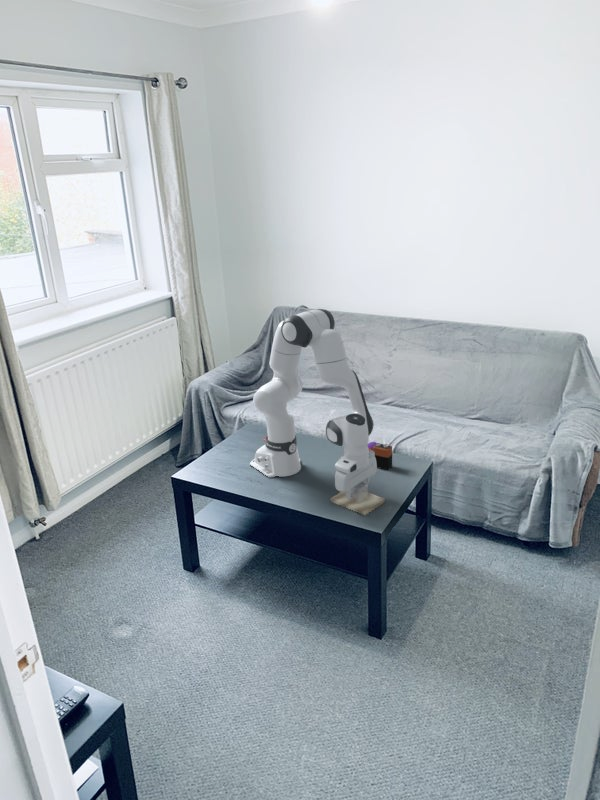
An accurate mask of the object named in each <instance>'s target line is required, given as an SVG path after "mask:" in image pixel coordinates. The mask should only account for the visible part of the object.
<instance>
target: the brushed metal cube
mask: <svg viewBox="0 0 600 800" xmlns="http://www.w3.org/2000/svg"><path fill="white" fill-rule="evenodd" d="M368 488H369V487H367V483H364V482H363V481H362V482H360V483H359V484H357V485H356V486H354V487H352V488H351V489H350V491H349V492H350V493H352V498H350V499H348V500H350V501H353V502H355V503H358V504H360V503H361V502H363V501H364V500H366V499H367V498H368V493H369V491H368Z"/></svg>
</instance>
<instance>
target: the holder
mask: <svg viewBox="0 0 600 800" xmlns="http://www.w3.org/2000/svg"><path fill="white" fill-rule="evenodd" d="M329 502H331V503H334V504H336V505H338V506H340V505H341V507H343V508H345V507H346V508H345V509H348V510H350V509H351V511H352V510H353V512H355V511H356V512H355V513H357V512H358V513H357V514H360V513H361V515H362V514H363V515H362V516H364V515H365V516H367V515H368V514H370V513H372V512H373V511H374V510H376V509H377V508H378V507H380V506H381V505H383V504H384V503H386V499H385V498H384V497H381V496H378V495H376V494H373V493H371V492H368V498H367V499H366V500H364V501H363V502H361V503H360V504H358V503H355V502H353V501H350V500H348V498H346V493H345V492H344V493H343V492H340V491H339V492H338V493H337V494H336V495H334V496H332V497H331V498H330V501H329ZM375 508H376V509H375ZM372 510H373V511H372ZM369 512H370V513H369ZM366 514H367V515H366Z"/></svg>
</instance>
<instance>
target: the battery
mask: <svg viewBox="0 0 600 800" xmlns="http://www.w3.org/2000/svg"><path fill="white" fill-rule="evenodd" d="M376 443H377V444H376V445H375V446H374V447H373V451H374V453H375V458H376V463H377V469H381V468H382V469H383V470H386V471H388V470H390V469H391V468H392V466H393V446H392V445H389V443H384V444H383V443H381V442H376Z"/></svg>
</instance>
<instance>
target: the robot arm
mask: <svg viewBox="0 0 600 800" xmlns="http://www.w3.org/2000/svg"><path fill="white" fill-rule="evenodd" d="M335 323H336V322H335V318H334V316H333V314H332V313H331V312H330V311H329V310H327V309H323V308H316V309H312V310H311V309H310V310H305V311H303V312H299V313H296V314H292V315H290V316H288V317H287V318H285V319H284V320H282V321H280V322H279V323H278V325H277V327H276V330H275V333H274V335H273V341H272V345H271V351H270V356H269V363H268V364H269V367H270V368H271V370H272V371H273V375H272V376H273V377H272V378H271V380H270V381H269V382H267V383H265V384H263V385H262V386H260V387H259V388H258V389H257V391H256V392H255V393H253V394H254V395H253V396H252V397H253V398H252V401H253V405H254V407H255V409H256V410H257V411H259V412H260V413H261V414H263V417H264V419H265V423H266V432H267V436H266V437H264V438H263V441H265V444H263V445H262V446H261V447H259V448H258V449H257V450H256V451H255V455H254V458H253V459H252V460H251V461H250V463H249V466H250V465H251V466H253V467H254V468H256V469H257V470H259V471H260V472H262V473H263V474H264V475H263V474H262V473H261V474H262V475H263V476H265V475H266V476H268V477H267V478H274V477H275V476H279V477H280V478H281V477H290V476H293V475H296V474H298V473H299V472H300V471H301V469H302V465H301V458H300V456H299V450H298V438H297V435H296V427H295V419H294V417H293V416H292V415H291V414H289V413H288V409H287V406H288V404H289V403H291V402H292V401H294V400H295V399H296V398H297V397H298V396H299V395H300V393H301V392H302V390H303V382H302V380H301V378H300V376H299V371H298V370H299V362H300V357H301V352H302V348H307V347H308V346H310V348H311V349H312V351H313V355H314V362H315V368H316V373H317V375H318V377H319V378H320V380H321V381H322V382H324V383H326V384H328V385H331V386H332V385H333V386H337V387H342V388H344V389H345V390H346V392H347V395H348V399H349V401H350V404H351V405H350V406H351V408H352V412H351V413H349V414H345V415H343V416H338V417H335V418H333V419H330V420H328V422H327V424H326V427H325V436H326V438H327V440H328V441H330V443H332V444H334V445H336V446H338V447H343V449H344V450H343V454H342V455H341V456H340V458H339V460H337V461H336V463H334V469H335V470H336V471H335V474H334V487H335V489H336V491H338V492H339V493H340V492H343V493H344V492H345V493H346V498H348V499H350V498H352V493H350V492H349V491H350V489H351V488H352V487H354V486H356V485H357V484H359V483H360V482H364V483H367V488H369V482H370V480H371V477H372V476H373V475H374V474H376V473H377V470H378V468H377V463H376V458H375V453H374V451H372V450H370V451H369V449H368V444H369V441H370V440H369V436H370V435H371V434H372V432H373V429H374V426H375V424H374V419H373V417H372V415H371V414H370V410H369V408H368V405H367V402H366V399H365V395H364V391H363V388H362V386H361V383H360V379H359V377H358V374H357V372H356V371H354V370H353V369H351V368H350V366H349V365H348V360H347V354H346V349H345V346H344V343H343V339H342V336H341V334H340V333H339V331H338V330H336V329H335V325H336V324H335ZM253 461H254V462H253ZM251 466H250V467H251ZM253 467H252V468H253ZM254 468H253V469H254ZM256 469H255V470H256ZM257 470H256V471H257ZM259 471H258V472H259ZM260 472H259V473H260ZM266 476H265V477H266ZM275 478H276V477H275Z"/></svg>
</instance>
